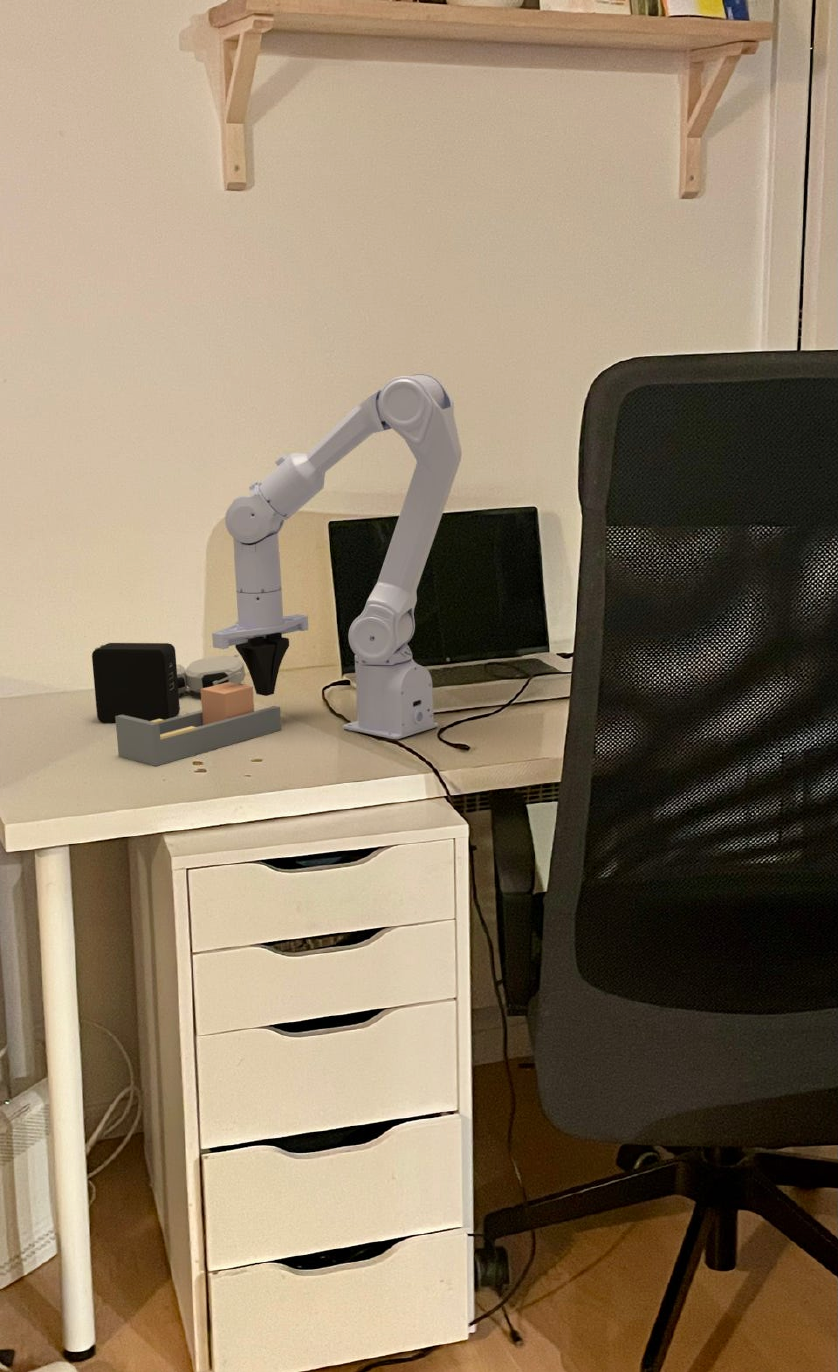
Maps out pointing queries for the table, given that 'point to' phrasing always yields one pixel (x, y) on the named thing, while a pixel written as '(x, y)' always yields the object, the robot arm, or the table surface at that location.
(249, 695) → the block
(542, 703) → the table surface
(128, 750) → the trough
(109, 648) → the electronic device
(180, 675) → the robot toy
